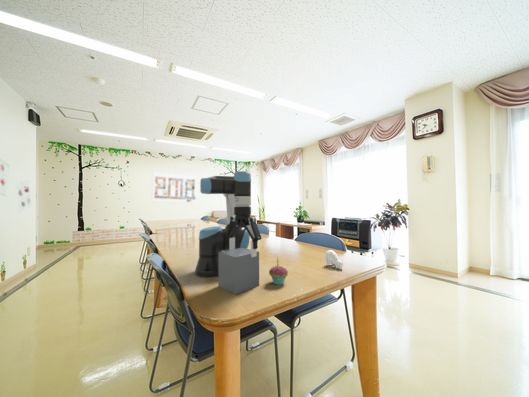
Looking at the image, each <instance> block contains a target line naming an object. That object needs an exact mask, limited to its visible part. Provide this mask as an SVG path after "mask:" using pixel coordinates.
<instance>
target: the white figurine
mask: <svg viewBox="0 0 529 397" xmlns="http://www.w3.org/2000/svg"><path fill="white" fill-rule="evenodd" d="M324 259H325V262H326V267H328V266H330V265H333V266H335V269H339V270H341V269H342V268H343V266H344V264H343V261H341V259H340V258H339V257H338V254H337V253H336V252H335V251H334V250H332V249H329V250H327V251H326V252H325V254H324Z"/></svg>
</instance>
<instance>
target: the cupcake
mask: <svg viewBox="0 0 529 397" xmlns="http://www.w3.org/2000/svg"><path fill="white" fill-rule="evenodd" d="M268 274H269V276H270V277H271V280H272V281H273V284H274V285H279V286H280V285H283V284H285V279H286V278H287V277H288V274H289V271H288V270H287V268H285V267H283V266H280V265H279V257H277V258H276V265H275V266H273V267H271V268H270V269H269V271H268Z"/></svg>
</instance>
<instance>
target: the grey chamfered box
mask: <svg viewBox="0 0 529 397" xmlns="http://www.w3.org/2000/svg"><path fill="white" fill-rule="evenodd" d="M217 281H218V283H217V284H218V287H220V288H221V289H224V290H225V291H227V292H229V293H231V294H233V295H238V294H241V293H243V292H244V293H245V291H248V290H252V289H254V288H256V287H258V286H260V251H257V256H255V257H251V248H249V249H248V248H247V249H246V248H238V249H233V250H227V251H222V252H219V275H218V280H217Z"/></svg>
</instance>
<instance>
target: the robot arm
mask: <svg viewBox="0 0 529 397" xmlns="http://www.w3.org/2000/svg"><path fill="white" fill-rule="evenodd" d="M251 176H252V175H251V172H250V171H249V172H248V171H246V170H245V171H244V170H237V171H235V172H234V174H233V176H232V175H231V176H230V175H229V176H226V175H214V176H209V177H201V179H200V183H199V184H200V185H199V186H200V194H203V195H213V194H214V195H223V197H224V198H225V205H226V218H227V221H226V222H227V224H226V226H225V228H223V227H222V226H220V225H218V226H209V227H204V228H202V229H201V230H200V231H199V236H198V260H197V263H196V265H195V270H194V271H195V275H196V276H199V277H207V278H208V277H214V276H215V277H217V276H219V252H222V251H227V250H233V249H238V248H246V249H248V247H249V244H250V250H251V257H255V256H257V250H258V244H259V243H258V241H260V240H261V241H262V235H261V232H260V231H259V228H258V224H257V218H256V217H254V216H253V217H251V216H250V215H251V214H252V207H251V205H252V195H251V194H252V193H251V192H252V177H251ZM250 239H251V241H250Z"/></svg>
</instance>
